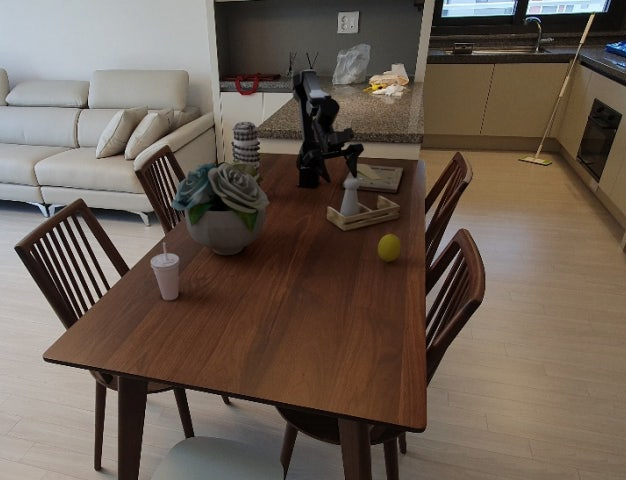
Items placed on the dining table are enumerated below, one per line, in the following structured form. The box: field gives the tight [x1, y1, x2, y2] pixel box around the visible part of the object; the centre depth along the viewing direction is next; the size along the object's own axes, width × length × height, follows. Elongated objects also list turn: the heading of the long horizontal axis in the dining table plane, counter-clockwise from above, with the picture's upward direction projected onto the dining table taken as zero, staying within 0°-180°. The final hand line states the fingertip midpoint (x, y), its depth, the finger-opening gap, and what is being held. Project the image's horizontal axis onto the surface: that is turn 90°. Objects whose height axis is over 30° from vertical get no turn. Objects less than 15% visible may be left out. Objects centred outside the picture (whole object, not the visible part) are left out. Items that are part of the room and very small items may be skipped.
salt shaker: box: [339, 178, 359, 224], centre depth 136 cm, size 6×6×13 cm
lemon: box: [377, 233, 402, 263], centre depth 116 cm, size 6×6×8 cm
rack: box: [326, 195, 401, 232], centre depth 140 cm, size 10×20×4 cm, turn 114°
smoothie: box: [150, 242, 181, 301], centre depth 104 cm, size 6×6×14 cm
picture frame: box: [342, 163, 404, 194], centre depth 169 cm, size 19×2×24 cm
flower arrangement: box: [170, 160, 271, 256], centre depth 120 cm, size 25×25×24 cm
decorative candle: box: [230, 121, 261, 189], centre depth 150 cm, size 9×9×25 cm
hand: (343, 180), depth 137 cm, fingers open, 9 cm apart
